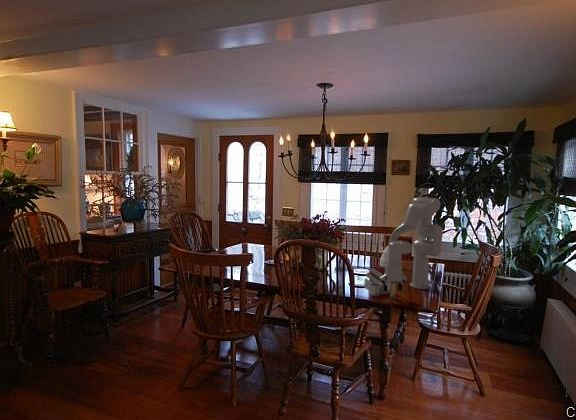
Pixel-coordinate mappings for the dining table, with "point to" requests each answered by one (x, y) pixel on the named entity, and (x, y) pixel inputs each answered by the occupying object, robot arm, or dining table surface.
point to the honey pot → (384, 257)
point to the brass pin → (392, 290)
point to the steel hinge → (376, 288)
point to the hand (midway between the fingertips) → (392, 290)
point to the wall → (374, 276)
